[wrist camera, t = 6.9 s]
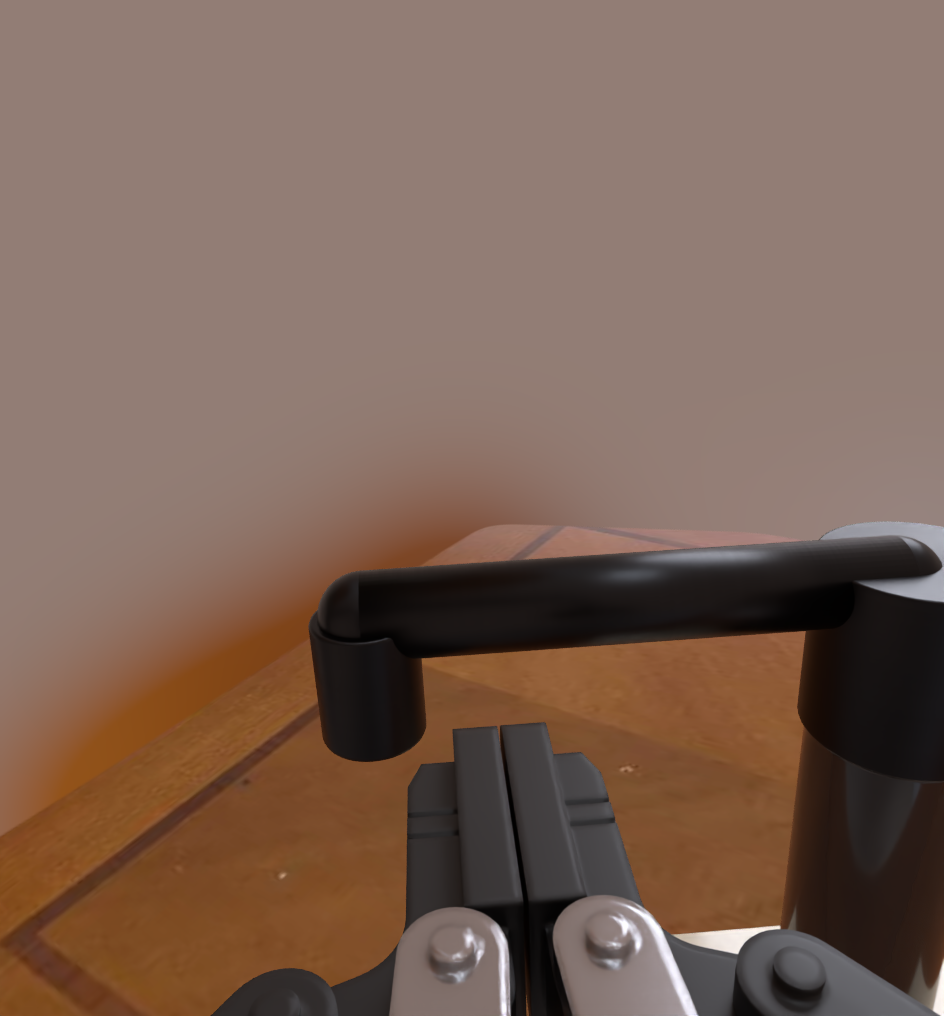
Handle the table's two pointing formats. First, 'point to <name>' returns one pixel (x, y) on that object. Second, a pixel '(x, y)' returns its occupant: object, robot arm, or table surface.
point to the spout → (660, 632)
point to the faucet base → (863, 872)
